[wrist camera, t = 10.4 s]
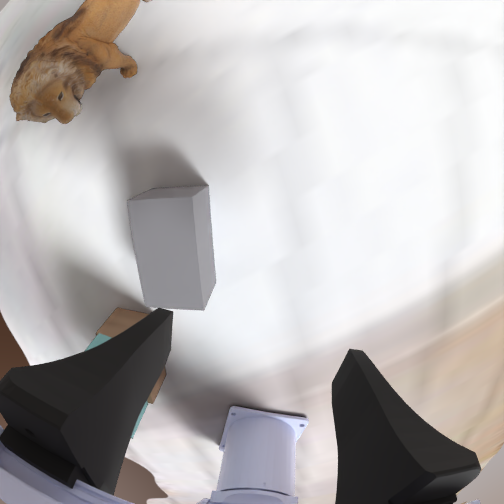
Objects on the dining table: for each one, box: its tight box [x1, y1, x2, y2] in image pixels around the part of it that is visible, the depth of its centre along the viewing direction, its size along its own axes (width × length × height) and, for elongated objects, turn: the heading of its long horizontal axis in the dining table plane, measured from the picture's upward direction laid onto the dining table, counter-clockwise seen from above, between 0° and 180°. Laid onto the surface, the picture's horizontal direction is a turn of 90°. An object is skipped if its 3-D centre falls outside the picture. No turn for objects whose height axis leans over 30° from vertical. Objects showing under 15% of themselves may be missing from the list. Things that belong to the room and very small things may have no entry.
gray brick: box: [127, 185, 216, 310], centre depth 19 cm, size 7×4×4 cm, turn 2°
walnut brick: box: [96, 308, 166, 404], centre depth 23 cm, size 7×4×4 cm, turn 175°
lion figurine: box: [10, 0, 152, 124], centre depth 11 cm, size 15×5×9 cm, turn 150°
